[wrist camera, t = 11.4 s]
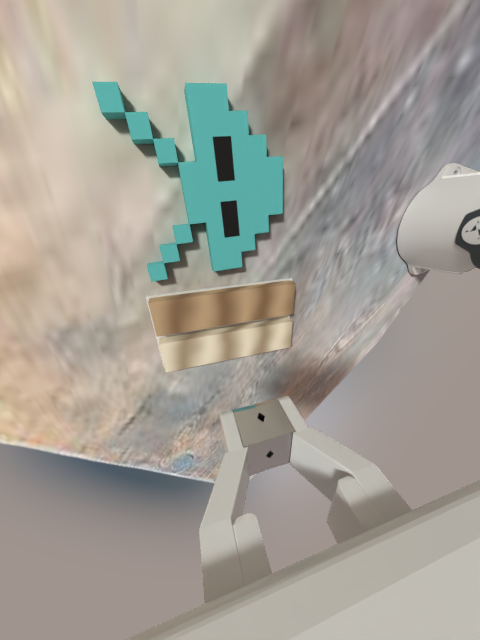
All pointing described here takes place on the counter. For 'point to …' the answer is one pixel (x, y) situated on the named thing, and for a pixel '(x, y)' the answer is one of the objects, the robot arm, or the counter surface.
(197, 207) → the alien figure
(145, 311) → the counter surface
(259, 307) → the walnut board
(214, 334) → the birch plank
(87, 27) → the counter surface
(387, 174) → the counter surface
